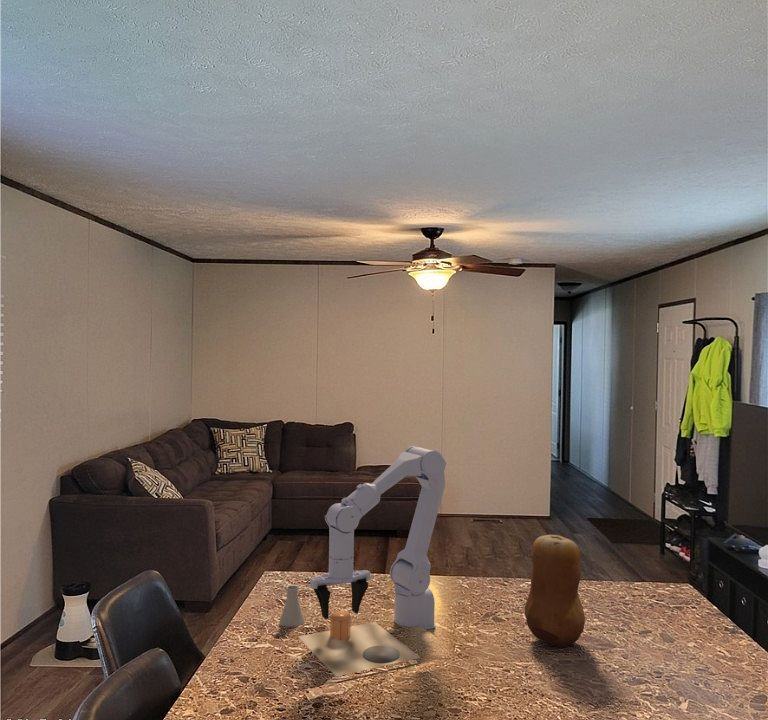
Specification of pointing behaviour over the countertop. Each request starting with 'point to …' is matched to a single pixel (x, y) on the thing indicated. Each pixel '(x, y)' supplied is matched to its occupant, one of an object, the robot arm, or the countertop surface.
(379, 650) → the board
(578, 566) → the butternut squash
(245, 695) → the countertop surface
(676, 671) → the countertop surface
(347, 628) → the orange domed tapered piece
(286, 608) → the flask
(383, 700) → the countertop surface
